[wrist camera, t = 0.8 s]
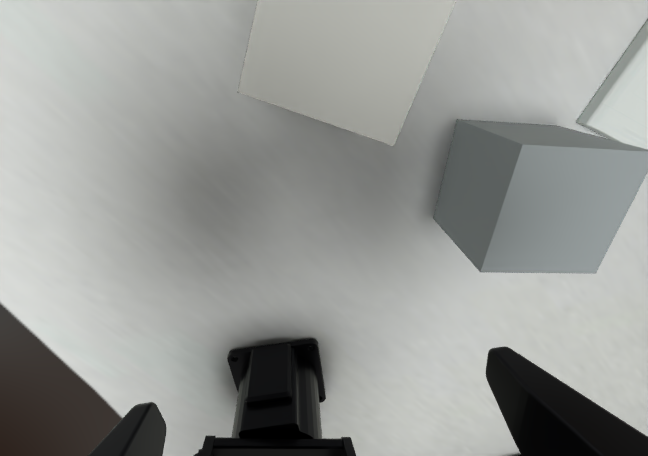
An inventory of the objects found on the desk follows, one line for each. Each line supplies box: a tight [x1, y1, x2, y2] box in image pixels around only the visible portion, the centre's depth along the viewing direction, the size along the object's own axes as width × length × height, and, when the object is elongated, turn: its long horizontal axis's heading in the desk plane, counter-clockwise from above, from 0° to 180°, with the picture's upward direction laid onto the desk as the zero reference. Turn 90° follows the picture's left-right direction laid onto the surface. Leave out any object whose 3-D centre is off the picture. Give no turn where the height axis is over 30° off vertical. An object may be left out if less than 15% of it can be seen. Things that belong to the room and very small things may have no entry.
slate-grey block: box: [433, 119, 648, 274], centre depth 18 cm, size 6×6×6 cm
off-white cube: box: [237, 0, 456, 146], centre depth 14 cm, size 6×6×6 cm
